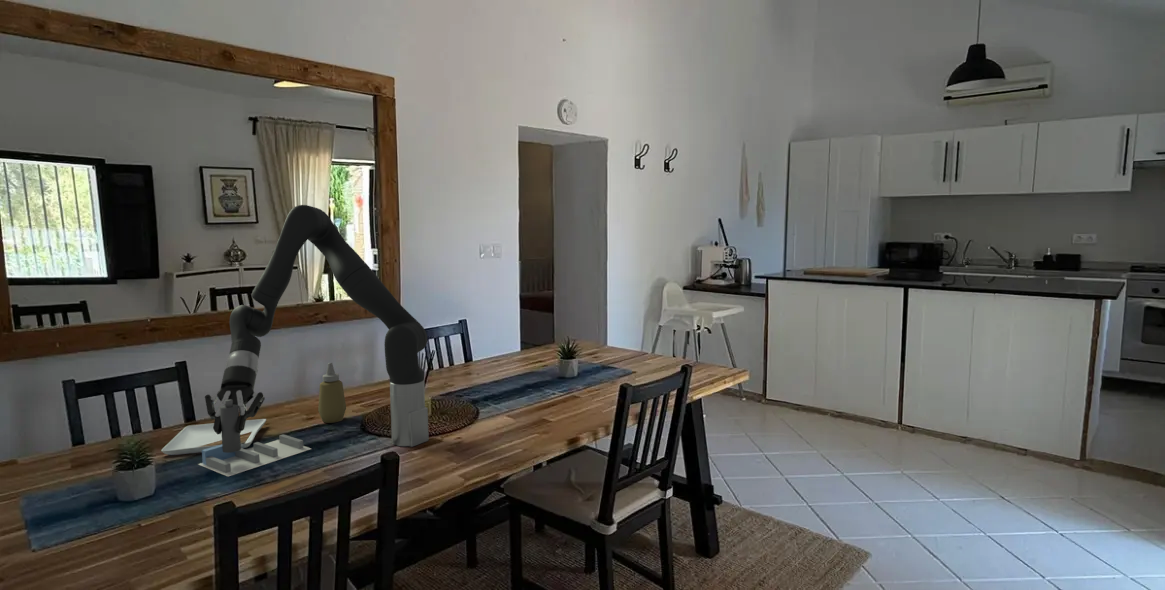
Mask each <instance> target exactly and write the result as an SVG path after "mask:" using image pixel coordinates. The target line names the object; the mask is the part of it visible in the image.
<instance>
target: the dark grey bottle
mask: <svg viewBox="0 0 1165 590" xmlns="http://www.w3.org/2000/svg"><path fill="white" fill-rule="evenodd" d="M238 416H240V414H239V407H238V405H236V404H233V400H225V406H222V407H220V417H221V433H222V440H221V445H222V448H223V452H225V453H231V452H236V451H239V450H240V449H241V444H242V442H241V435H240V433H237V432H236V424H237V419H238Z"/></svg>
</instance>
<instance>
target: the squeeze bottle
mask: <svg viewBox="0 0 1165 590" xmlns="http://www.w3.org/2000/svg"><path fill="white" fill-rule="evenodd" d="M318 394H319V395H318V408H317V409H318V410H317V411H318V413H319V416H320V418H321V420H322V422H323V423H327V424H332V423H333V424H334V423H338V422H341V421H343V420H344V417H345V415H346V414H345V413H346V410H347V404H346V403H347V402H346V398H345V397H346V396H345V391H344V385H343V381H341V380H340V375H339V373H336V372H335V369H334V365H333V362H328V363H327V367H326V373H325V374H323V375H322V382H320V383H319V393H318Z"/></svg>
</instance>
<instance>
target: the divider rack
mask: <svg viewBox="0 0 1165 590" xmlns="http://www.w3.org/2000/svg"><path fill="white" fill-rule="evenodd" d="M278 437H279V439H276V440H273V441H270V442H267V443H262V442H259V441H256V442H252V443H253V446H252V447H249V448H241V449H240V450H239V451H236V452H231V453H225V452H223V448H222V444H217V445H218V446H215V445H214V446H215V447H211V448H208V449H204V450H202V452H201V456H202V457H201V460H202V462H200V463H197V465H198V466H200V467H204V468H206V469H208V470H211V471H214V472H216V473H217V474H221V475H223V476H226V477H230V476H235V475H237V474H241V473H243V472H245V471H249V470H252V469H256V468H258V467H261V466H264V465H268V464H271V463H273V462H276V461H277V462H278V461H279V460H282V459H286V458H289V457H292V456H294V455H297V454H301V453H303V452H306V451H309V450H312V448H310V447H309V446H305V445H304V440H302V439H300V438H296V437H293V436H290V435H287V434H284V433H283V434H280V435H279V436H278Z"/></svg>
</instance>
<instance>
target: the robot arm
mask: <svg viewBox="0 0 1165 590" xmlns="http://www.w3.org/2000/svg"><path fill="white" fill-rule="evenodd" d="M307 241H309V243H311V244H313V246H314V247H315V248H317V250H319V252H320V253H322V255H323V257H324V258H325V259H326V260H327V261H326V262H327V263H328V265H329V267H330V270H331V272H332V274H333V277H334V278H335V280H336V283H337V284H338V286H340V288H341V289H342V290H343V291H344V292H345V294H347V296H348V297H349V298H350V299H351V300H352V301H353V302H354V303H355V304H357V305H359V306H360V307H361V308H363V309H365V310H366V311H368V312H369V313H371V314H372V315H374V316H375V317H376V318H377V319H379V320H380V321H381V322H382V323H383V324H384V325H385V327H386V328H387V329H388V330H387V332H386V334H385V337H384V343H383V344H384V359H385V369H386V372H387V374H388V377H389V399H390V404H389V405H390V423H391V424H390V426H391V444H393V445H394V446H399V447H415V446H418V445H421V444H423V443H426V442H428V441H429V438H430V437H429V415H428V413H429V412H428V411H429V410H428V409H429V408H428V407H426V398H425V397H426V396H425V393H426V392H425V371H424V369H423V368H421V367H420V366H419V359H418V358H419V357H418V353H420V352H422V351H423V350H424V349H425V347H427V344H428V334H427V332H426V330H425V328H424V326H423V325H422V324H421V323H420V322H419V321H418V320H417V319H416V318H415V317H414V316H413V315H412V314H411V313H410V312H409V311H408V310H407V309H406V308H404V307H403V306H402V304H400V302H399V301H398V300H397V299H396V298H395V296H394V295H393V294H392V292H391V291H390V290H389V288H387V287H386V286H385V284H384V283H383V281H381V280H380V278H379V277H378V276H377V274H376V273H375V272H374V271H373V269H371V268H370V266H369V264H367V263H366V262H365V261H364V259H363V258H362V257H361V256H360V255H359V253H357V251H356V250H354V248H353V247H352V246H351V245H349V244H348V242H347V241H346V239H344V237H343V236H342V234H341V233H340V231H339V230H338V228H337V227H336V226H335V223H334V222H333V221H332V219H331V218H330V216H329V215H328V214H327V213H326V212H325V211H323V210H322V209H321V208H318V207H314V206H311V205H308V204H300V205H298V204H297V205H296V206H294V207H292V209H290V211H289V212H288V214H287V216H286V218H285V221H284V224H283V226H282V229H281V231H280V235H279V238H278V240H277V242H276V245H275V247H274V250H273V252H272V255H271V257H270V259H269V262H268V263H267V265H266V267H265V269H264V271H262V272H263V273H262V274H261V276H260V278H259V279H258V281H257V283H256V284H255V287H254V288H253V289H252V293H251V297H252V299H253V300H254V301H256V302H257V303H258V304H261V306H263V307H264V308H263V310H261V309H257V308H255V307H252V306H248V305H245V304H241V305H238V306H236V307H235V308H234V309H233V310H232V311H231V313H230V316H229V330H230V337H231V340H230V341H231V345H230V350H229V355H228V357H227V359H226V363H225V367H224V372H223V375H222V378H221V384H220V388H219V391H218V392H217V393H216V394H213V395H210V394H206V395H205V396H204V400H205V401H204V402H205V405H206V411H207V414H208V417H209V418H210V419H211V420H214V422H213V423H214V426H213V429H214V431H215V432H216V433H217V434H221V417H220V407H222V406H225V400H233V404H236V405H238V407H239V416H238V419H237V424H236V432H237V433H241V431H243V430H244V427H245V422H246V420H248V418H254V417H256V415H257V413H258V412H259V410H260V408H261V406H262V405H263V403H264V401H265V400H266V399H265V395H264V393H263V392H262V391H260V392H256V391H254V388H255V383H256V379H257V374H258V371H259V370H258V368H259V358H260V353H261V348H262V342H261V340H260V339H259V338H261V337H265V336H267V335H268V334H269V332H270V331H271V330H272V327H273V323H274V319H275V318H274V317H275V314H276V310H277V307H278V305H279V301H280V300H281V298H282V296H283V295H284V292H286V289H287V287H288V285H289V283H290V281H291V278H292V274H293V269H294V265H295V261H296V259H297V256H298V254H299V252H300V250H302V249H301V248H302V247H303V246H304V244H305V243H306V242H307ZM258 337H259V338H258ZM217 400H219V401H220V403H219V405H218V408H217V410H216V409H215V405H216V403H217ZM251 400H253V401H252V402H251V404H250V406H249V408H248V409H247V404H248V403H249V402H250V401H251Z"/></svg>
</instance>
